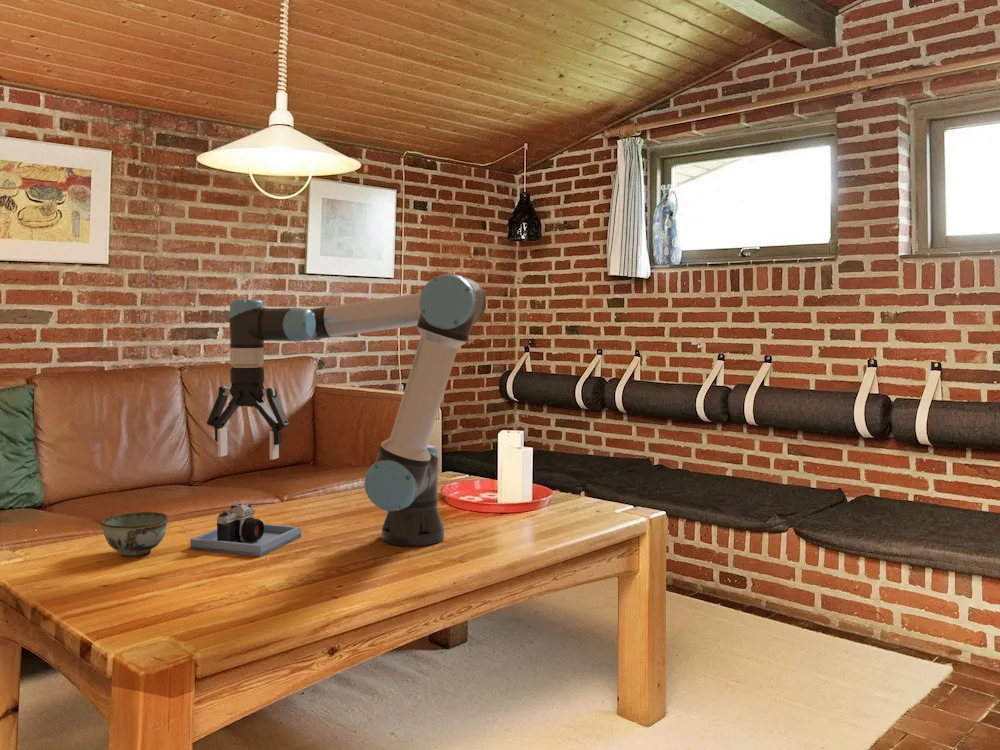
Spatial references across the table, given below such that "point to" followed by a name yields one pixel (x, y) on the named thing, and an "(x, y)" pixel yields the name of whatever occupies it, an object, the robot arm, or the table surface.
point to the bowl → (135, 532)
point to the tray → (269, 541)
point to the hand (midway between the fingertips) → (248, 457)
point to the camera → (239, 524)
